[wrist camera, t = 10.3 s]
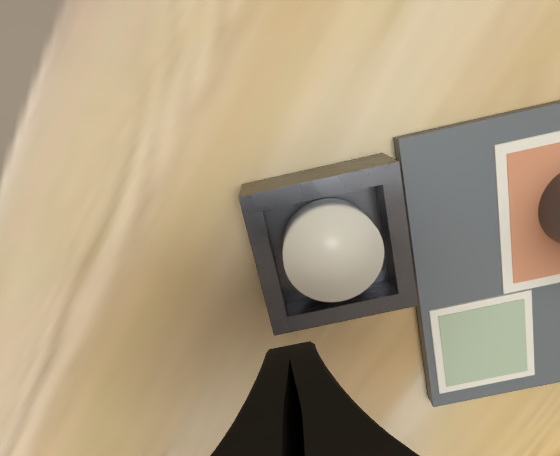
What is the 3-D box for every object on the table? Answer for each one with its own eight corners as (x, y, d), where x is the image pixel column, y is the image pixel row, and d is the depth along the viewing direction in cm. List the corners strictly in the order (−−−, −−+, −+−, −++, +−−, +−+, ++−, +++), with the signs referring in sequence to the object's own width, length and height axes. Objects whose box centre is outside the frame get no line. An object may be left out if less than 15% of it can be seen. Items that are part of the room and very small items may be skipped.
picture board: (675, 347, 24) (691, 358, 23) (428, 397, 24) (434, 409, 23) (698, 69, 19) (719, 68, 18) (393, 137, 20) (399, 139, 19)
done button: (381, 276, 20) (390, 290, 19) (292, 294, 21) (294, 311, 19) (367, 188, 19) (376, 197, 18) (272, 209, 19) (273, 219, 18)
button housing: (401, 281, 22) (417, 305, 19) (273, 308, 22) (274, 335, 20) (382, 152, 20) (399, 161, 17) (242, 184, 20) (238, 197, 18)
